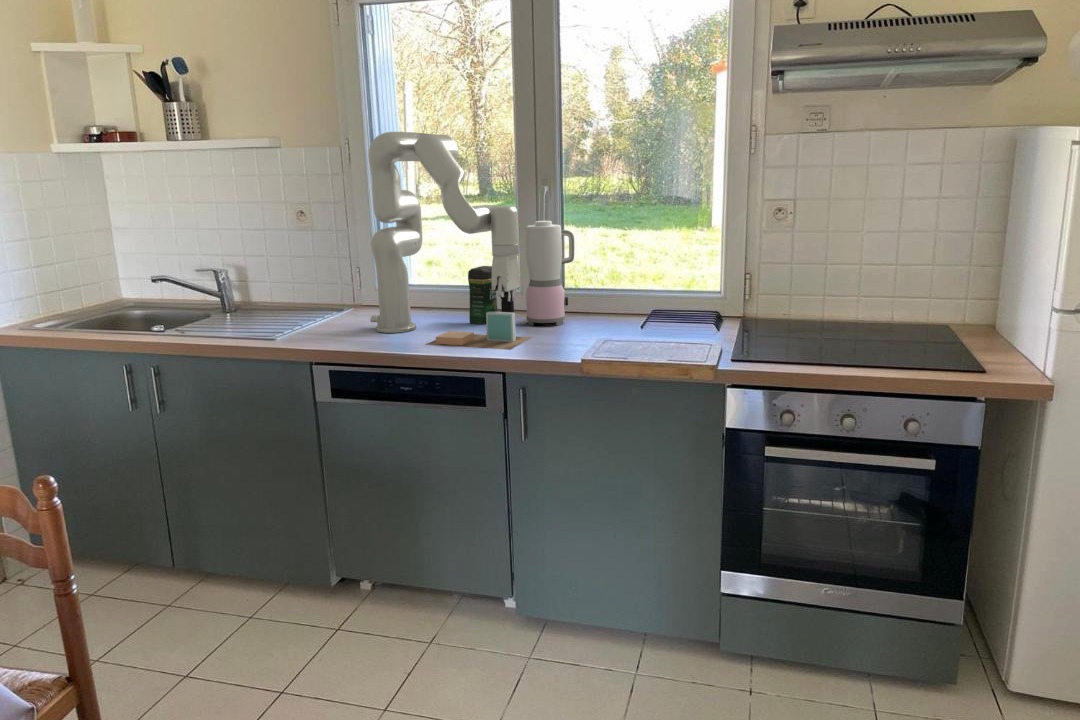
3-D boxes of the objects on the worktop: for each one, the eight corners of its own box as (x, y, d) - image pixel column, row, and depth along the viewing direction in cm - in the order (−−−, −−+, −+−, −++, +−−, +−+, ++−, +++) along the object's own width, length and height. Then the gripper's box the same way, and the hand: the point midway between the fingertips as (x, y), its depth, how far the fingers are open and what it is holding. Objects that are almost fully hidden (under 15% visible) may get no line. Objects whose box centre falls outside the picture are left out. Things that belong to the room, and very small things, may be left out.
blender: (525, 327, 253) (522, 223, 246) (526, 319, 265) (523, 220, 258) (576, 326, 253) (574, 221, 246) (574, 318, 265) (573, 219, 258)
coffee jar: (488, 328, 254) (485, 268, 250) (466, 326, 258) (463, 267, 253) (502, 322, 263) (500, 264, 258) (481, 320, 266) (478, 264, 262)
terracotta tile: (449, 338, 236) (436, 344, 229) (449, 331, 235) (435, 336, 228) (474, 339, 233) (461, 345, 226) (474, 332, 233) (461, 338, 225)
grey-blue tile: (487, 340, 232) (485, 312, 230) (490, 338, 234) (488, 311, 232) (512, 342, 229) (511, 313, 227) (515, 340, 231) (514, 312, 229)
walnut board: (425, 347, 229) (425, 344, 229) (451, 336, 244) (451, 332, 243) (510, 353, 220) (510, 349, 220) (532, 340, 234) (532, 337, 234)
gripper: (503, 247, 238) (506, 309, 242) (482, 253, 225) (485, 319, 229) (527, 247, 235) (529, 310, 240) (507, 253, 222) (509, 320, 226)
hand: (507, 314), depth 234 cm, fingers closed
